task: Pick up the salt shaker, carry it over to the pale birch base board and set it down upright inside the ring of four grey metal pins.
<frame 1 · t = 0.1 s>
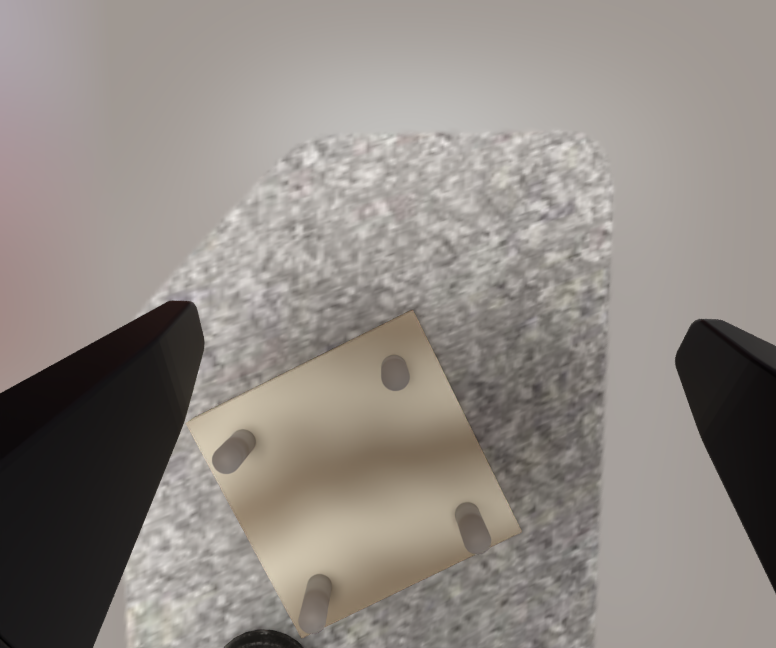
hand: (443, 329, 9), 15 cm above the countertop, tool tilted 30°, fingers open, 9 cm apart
pin board: (357, 470, 24), on the countertop
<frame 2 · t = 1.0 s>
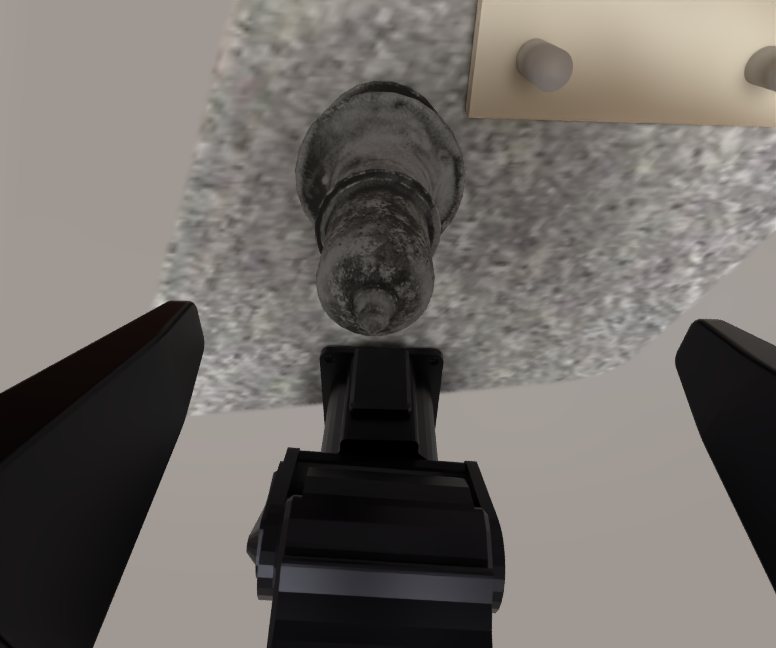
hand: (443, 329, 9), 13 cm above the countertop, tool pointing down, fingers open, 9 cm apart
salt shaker: (381, 151, 20), on the countertop
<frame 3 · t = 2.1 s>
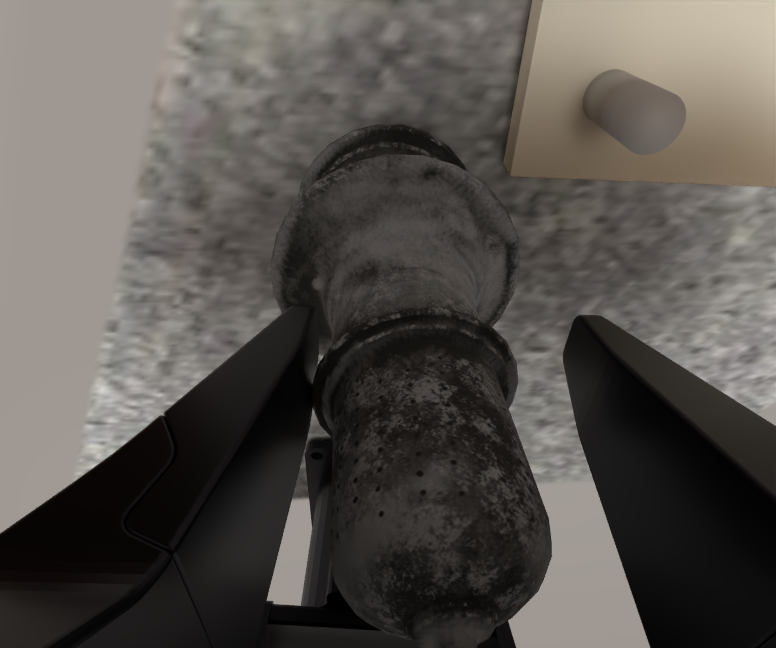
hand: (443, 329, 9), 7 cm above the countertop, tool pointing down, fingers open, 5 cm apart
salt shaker: (386, 215, 15), on the countertop
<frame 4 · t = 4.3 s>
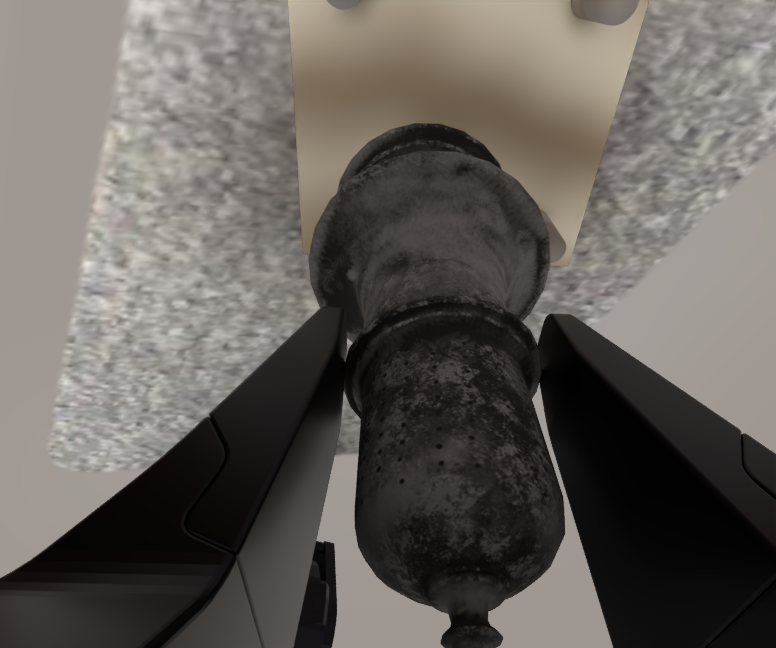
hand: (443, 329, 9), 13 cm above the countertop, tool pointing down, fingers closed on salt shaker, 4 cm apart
pin board: (451, 113, 19), on the countertop
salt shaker: (421, 211, 15), point 6 cm above the countertop, touching gripper
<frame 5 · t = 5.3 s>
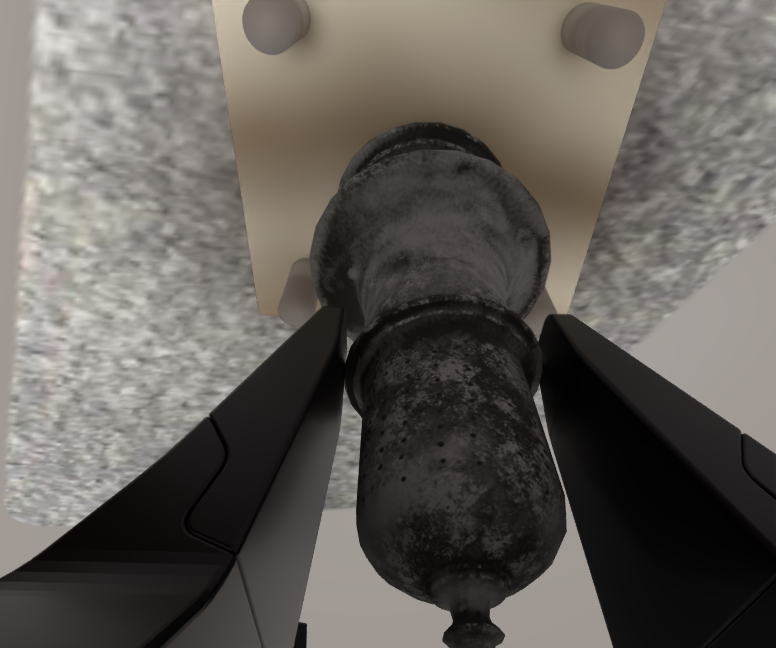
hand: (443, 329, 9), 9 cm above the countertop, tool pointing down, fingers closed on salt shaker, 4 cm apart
pin board: (422, 158, 16), on the countertop
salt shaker: (421, 210, 15), point 2 cm above the countertop, touching gripper
when the fingers open (9 cm above the countertop, at t = 6.1 s): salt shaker stays where it is, resting on pin board.
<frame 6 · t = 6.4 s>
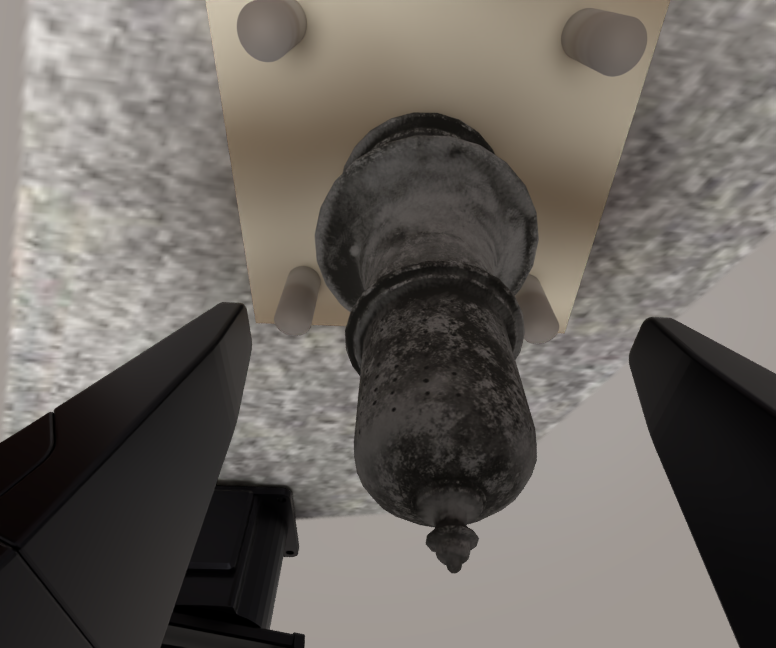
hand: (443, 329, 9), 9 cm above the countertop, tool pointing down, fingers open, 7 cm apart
pin board: (421, 165, 16), on the countertop
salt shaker: (420, 196, 16), point 1 cm above the countertop, touching pin board
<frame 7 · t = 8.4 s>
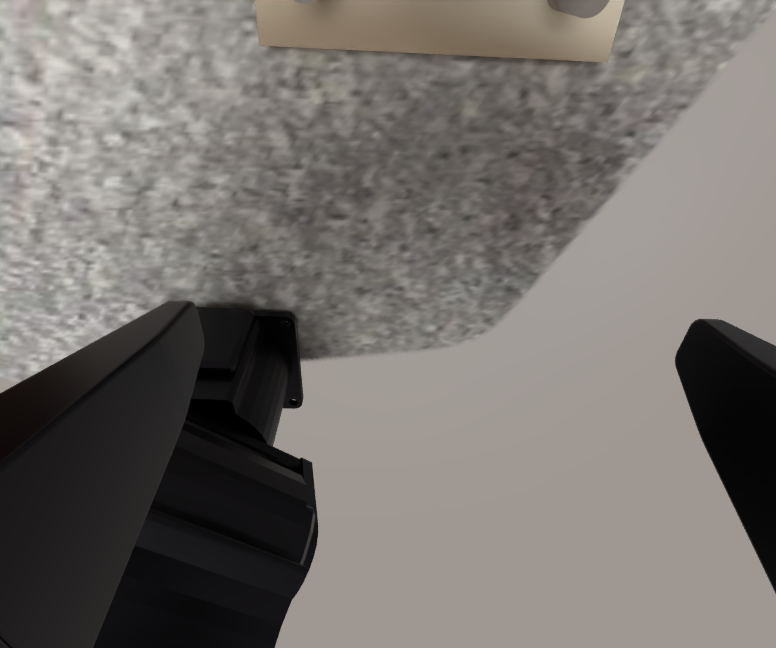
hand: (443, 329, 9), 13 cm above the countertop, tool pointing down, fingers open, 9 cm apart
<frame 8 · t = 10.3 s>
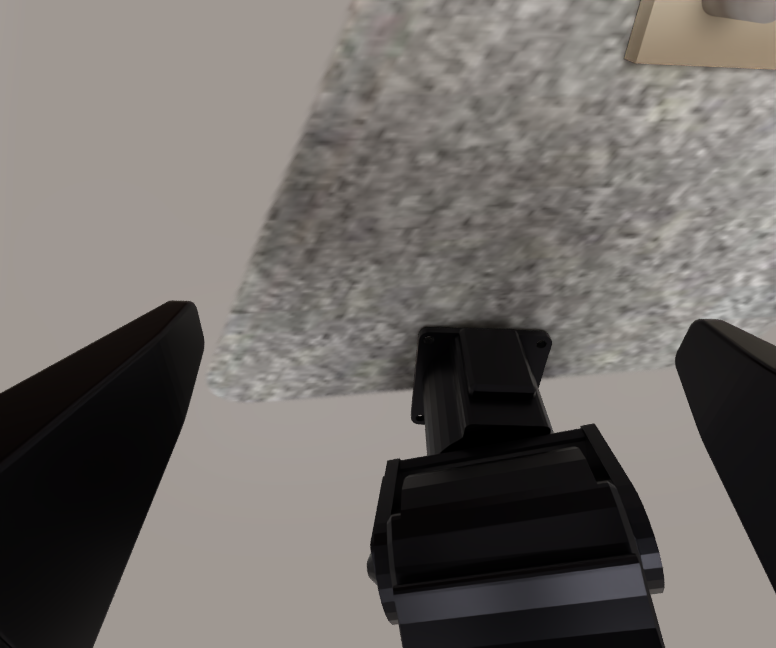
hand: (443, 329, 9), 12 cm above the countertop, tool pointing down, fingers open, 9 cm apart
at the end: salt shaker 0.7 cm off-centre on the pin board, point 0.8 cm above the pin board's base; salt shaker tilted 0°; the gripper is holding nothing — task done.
